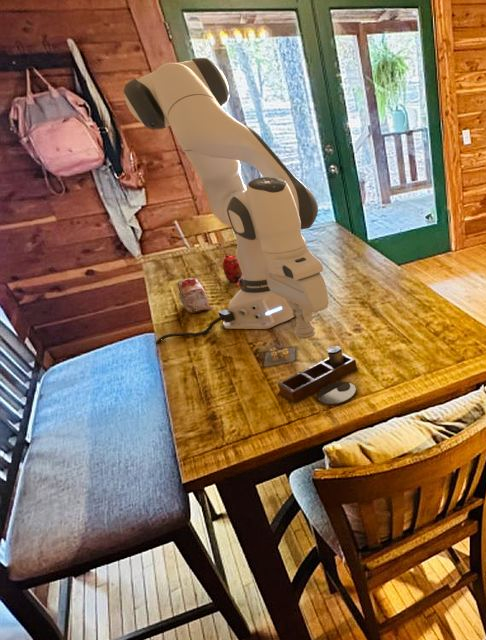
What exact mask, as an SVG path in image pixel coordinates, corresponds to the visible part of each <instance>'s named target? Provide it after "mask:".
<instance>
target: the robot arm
mask: <svg viewBox="0 0 486 640" xmlns="http://www.w3.org/2000/svg"><path fill="white" fill-rule="evenodd" d="M122 92H123V94H124V99H125V103H126V106H127V108H128V110H129V112H130V113H131V115H132V116H133V117H134V118H135V119H136V120H137V121H138V122H140V123H141V124H143V126H144V127H145V128H147V129H150V130H163V129H166V128H167V127H170V128H171V130H172V132H173V134H174V136H175V138H176V140H177V142H178V144H179V146H180V148H181V149H182V151H183V153H184V154H185V156H186V157H187V159H188V161H189V162H190V164H191V166H192V168H193V170H194V171H195V173H196V175H197V176H198V178H199V180H200V182H201V184H202V187H203V189H204V192H205V194H206V197H207V199H208V202H209V209H210V212H211V214H212V215H213V216H214V217H215V218H216V219H217V220H218V221H219V222H220V223H221V224H223V225H224V226H227V227H230V228H231V229H232V230H233V232H234V233H235V237H236V250H235V256H236V258H237V260H238V263H239V266H240V269H241V272H242V275H241V278H240V279H239V280H238V281H237V282H236V285H237V287H238V288H239V287H240V290H238V291H237V292H236V293H235V295H234V296H233V297H232V298H231V299H230V301H229V302H228V304H227V309H226V308H224V309H222V310H220V311H217V313H218V316H219V317H218V318H216V319H214V320H213V321H212V322H210V324H209V325H208V327H207V328H205V329H204V330H202V331H198V332H191V331H190V332H189V331H188V332H175V333H174V332H173V333H167V334H164V335H162V336H161V337H159V338H158V339H159V340H158V339H157V340H156V343H155V344H156V345H159V344H161V343H162V342H163V341H164V340H166V339H167V338H175V337H188V336H191V337H198V336H202V335H205V334H207V333H208V332H210V331H211V330H212V329H213V328H214V325H216V324H217V323H219V322H220V321H223V328H224V329H231V330H232V329H233V330H234V329H238V330H240V329H241V330H253V329H254V330H268V329H271V328H273V327H275V326H277V325H279V324H282V323H285V322H287V321H289V320H292V319H293V318H294V317H296V318H297V316H296V314H295V313H296V311H295V309H294V308H293V306H294V303H295V304H297V305H299V306H300V307H301V309H302V310H303V314H301V317H302V320H303V321H305V322H307V323H308V322H310V323H311V322H312V321H313V320H314V319H313V314H312V313H314V314H315V313H319V312H322V311H324V310H326V309H327V308H328V306H329V303H330V302H329V295H328V290H327V285H326V282H325V279H324V276H323V274H322V272H323V271H324V266H323V264H322V261H320V260H319V259H318V258H317V257H316V256H315V255H314V254H313V253H312V252H311V250H310V249H308V246H307V241H306V240H305V237H304V236H303V234H302V233H303V232H302V230H306V229H310V228H311V227H312V225H313V224H314V223H315V221H316V219H317V217H318V214H319V205H318V202H317V199H316V197H315V195H314V193H313V192H312V191H311V190H310V189H309V188H308V186H306V185H305V184H303V182H301V180H299V179H298V178H297V177H296V176H295V175H294V173H292V172H291V170H290V169H289V168H288V167H287V166H286V165H285V164H284V162H283V161H282V160H281V159H280V158H279V157H278V155H277V154H276V153H275V151H274V150H272V148H271V147H270V146H269V145H268V144H267V143H266V142H265V141H264V139H263V138H262V137H261V136H260V135H259V134H258V133H257V132H256V131H255V130H254V129H253V128H251V127H250V126H248V125H245V124H243V123H241V122H240V121H238V120H237V119H235V118H234V117H233V116H232V115H231V114H229V113H228V112H227V111H225V109H224V108H223V107H224V106H225V105H226V104H227V103H228V101H229V100H230V96H231V94H230V89H229V84H228V81H227V78H226V76H225V75H224V73H223V71H222V70H221V69H220V68H219V67H218V66H217V65H216V63H214V61H212V60H211V59H210V58H208V57H194V58H192V59H191V60H186V61H180V62H167V63H164V64H161V65H160V66H159V67H157V68H156V69H155V70H154V71H152V72H150V73H147V74H145V75H143V76H141V77H139V78H136V77H135V78H133V79H131V80H130V81H128V82H127V83H125V85H124V88H123V91H122ZM240 162H244V163H245V164H249V165H250V166H251V167H254V168H255V169H256V170H257V171H258V172H259V173H260V174H261V176H262V177H257V178H253V179H251V180H250V181H249V182H248V183H247V184H246V185H245V184H244V181H243V178H242V174H241V163H240ZM161 339H162V340H161Z"/></svg>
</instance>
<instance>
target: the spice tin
mask: <svg viewBox="0 0 486 640" xmlns="http://www.w3.org/2000/svg"><path fill="white" fill-rule="evenodd" d="M326 352H327V355H328V358H329V359H330V363H331V367H333V368H334V369H335V368H336V367H338V366H340V365H342V364H344V359H343V354H344V353H343V350H342V347H341V345H333V346H329V347H328V348H327V350H326ZM342 353H343V354H342Z"/></svg>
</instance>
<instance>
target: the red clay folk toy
mask: <svg viewBox="0 0 486 640" xmlns="http://www.w3.org/2000/svg"><path fill="white" fill-rule="evenodd" d="M217 242H218V243H217V245H215V248H216V249H219V248H220V247H221V249H222V251H223V252H224V255H225V257H224V258H223V261H222V270H223V274H224V276H225V277H226V279H227V280H228V281H229V282H233V283H234V282H238V280H239V279H240V278H241V275H242V272H241V269H240V266H239V263H238V260H237V257H236V255H235V254H232V255H230V256H229V255H228V254H227V252H226V249H225V248H224V247H223V245H222V244H223V242H220V241H219V240H217Z"/></svg>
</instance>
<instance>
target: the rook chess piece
mask: <svg viewBox="0 0 486 640" xmlns="http://www.w3.org/2000/svg"><path fill="white" fill-rule="evenodd" d="M293 308H294V309H295V311H296V313H295V314H296V316H297V317H296V325H295V328H294V333H295V334H294V336H296V338H298V339H301V340H302V339H304V340H306V339H311V338H312V337H313V336H315V334H316V330H315V326H314V325H313V324H312V322H311V321H310V322H308V323H307V322H305V321H303V320H302V317H301V314H303V310H302V309H301V307H300V306H299V305H297V304H295V303H294V306H293Z"/></svg>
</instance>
